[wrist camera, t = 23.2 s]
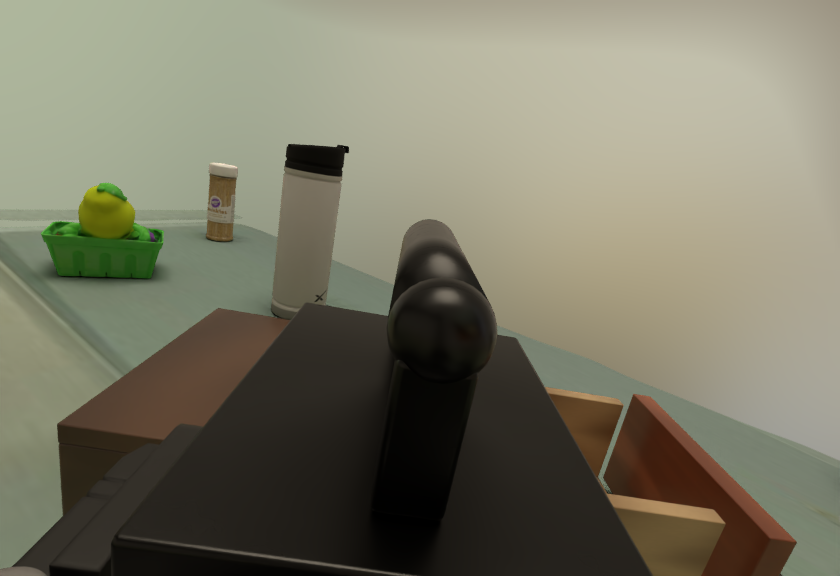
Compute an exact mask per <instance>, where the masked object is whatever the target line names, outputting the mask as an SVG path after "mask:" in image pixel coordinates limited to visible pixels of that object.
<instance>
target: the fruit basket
mask: <svg viewBox="0 0 840 576" xmlns="http://www.w3.org/2000/svg"><path fill="white" fill-rule="evenodd" d="M78 213H79V222H80V223H72V222H62V221H60V222H53V223H52V224H50V226H48V227H47V228H46V229H45V230H44V231H43V232H41V235H42V237H43V240H44V242H46V244H47V246H48V249H49V251H50V254H51V257H52V259H53V262H54V265H55V267H56V270H57V272H58V275H60V276H87V277H115V278H131V277H132V278H151V276H152V272H153V269H154V266H155V263H156V260H157V256H158V253H159V250H160V249H161V248H162V245H163V234H164V231H162V230H158V229H150V228H146V227H143V226H140V225H138V224H136V223H134V219H135V210H134V208H133V207H132V205H131V204H130V203H129V202H128V201H127V197H125V196H124V195H123V193H122V191H121V190H120V189H119V188H118V187H117V186H115V185H113V184H111V183H101V184H99V185H98V186H94V187H92V188H90V189H89V190H88V191H87V192H86V193H85V196H84V199H83V201H82V202H81V204H80V206H79V211H78Z"/></svg>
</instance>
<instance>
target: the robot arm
mask: <svg viewBox="0 0 840 576" xmlns="http://www.w3.org/2000/svg"><path fill="white" fill-rule="evenodd" d="M202 428H203V426H196V425H190V424H183V423H181V424H179V425H177V426H176V427H175V428H174V429H173V430H172V431H171V433H170V434H169V435H168V436H167V437H166V438H165V439H164V440H163V441H162V442H161V443H160V445H158V444H151V443H147V444H145V445H143V446H142V447H140V448H138V449H136V450H134V451H133V452H131V453H129V454H127V455H126V456H124V457H122V458H121V459H120V460H119V461H118V462H117V463H116V464H115V465H114V466H113V467H112V468H111V469H110V470H109V471H108V472H107V473H106V474H105V475H104V476H103V479H102V480H99V481H98V482H97V483H96V484H95V485H94V486H93V487H92V488H91V489H90V490H89V491H88V492H87V495H86V496H85V497H82V498H81V499H80V500H79V501H78V502H77V503H76V504H75V505H74V506H73V507H72V508H71V509H70V510H69V511H68V512H67V513H66V514H65V515H64V516H63V517H62V518H61V519H60V520H59V521H58V522H57V523H56V524H55V525H54V526H53V527H52V528H51V529H50V530H49V531H48V532H47V533H46V534H45V535H44V536H43V537H42V538H41V539H40V540H39V541H38V542H37V543H36V544H35V545H34V546H33V547H32V548H31V549H30V550H29V551H28V552H27V553H26V554H25V555H24V556H23V557H22V558H21V559H20V560H19V561H18V562H17V563H15V564H14V565H13V566H12V567H10V568H4V569H0V576H111V542H112V539H113V537H114V535H115V534H116V533H117V532H118V530H119V529H120V528H121V527H122V525H123V524H124V523H125V522H126V521H127V519H128V518H129V517H130V516H131V514H132V513H133V512H134V511H135V510H136V508H137V507H138V506H139V505H140V503H141V502H142V501H143V500H144V499H145V497H146V496H147V495H148V494H149V492H150V491H151V490H152V489H153V488H154V486H155V485H156V484H157V483H158V481H159V480H160V479H161V478H162V477H163V475H164V474H165V473H166V472H167V470H168V469H169V468H170V467H171V466H172V464H173V463H174V462H175V461H176V460H177V458H178V457H179V456H180V455H181V453H182V452H183V451H184V450H185V449H186V447H187V446H188V445H189V444H190V442H191V441H192V440H193V439H194V438H195V436H196V435H197V434H198V433H199V431H200V430H201V429H202Z"/></svg>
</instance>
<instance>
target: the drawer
mask: <svg viewBox="0 0 840 576" xmlns="http://www.w3.org/2000/svg"><path fill="white" fill-rule="evenodd" d="M545 389H546V390H547V392H548V394H549V396H550V397H551V399H552V401H553V402H554V404H555V406H556V408H557V409H558V411H559V413H560V415H561V416H562V418H563V420H564V422H565V423H566V425H567V427H568V429H569V430H570V432H571V434H572V436H573V437H574V439H575V441H576V442H577V444H578V446H579V448H580V449H581V451H582V453H583V455H584V456H585V458H586V460H587V462H588V463H589V465H590V467H591V469H592V470H593V472H594V474H595V476H596V477H597V479H598V481H599V482H600V480H599V478H598V475H599V473H600V470H601V467H602V464H603V461H604V459H605V456H606V453H607V450H608V448H609V445H610V442H611V439H612V436H613V434H614V431H615V428H616V425H617V422H618V420H619V417H620V414H621V411H622V408H623V404H622V403H621V402H620V401H619V399H615V398H609V397H603V396H597V395H591V394H585V393H579V392H573V391H567V390H560V389H554V388H548V387H545ZM603 478H604V480H605V482H606V483H607V485H608V487H609V488H610V490H611V492H612V493H613V494H607V492H606V490H605V489H604V487H603V485H602V484H601V482H600V484H601V486H602V488H603V489H604V491H605V493H606V495H607V496H608V498H609V500H610V502H611V503H612V505H613V507H614V509H615V510H616V512H617V514H618V516H619V517H620V519H621V521H622V522H623V524H624V526H625V528H626V529H627V531H628V533H629V535H630V536H631V538H632V540H633V542H634V543H635V545H636V547H637V549H638V550H639V552H640V554H641V556H642V557H643V559H644V561H645V562H646V564H647V566H648V568H649V569H650V571H651V573H652V575H653V576H782V575H781V574H780V573H781V571H782V569H783V567H784V565H785V564H786V562H787V560H788V558H789V556H790V554H791V553H792V551H793V549H794V547H795V545H796V543H797V542H796V541H795V540H794V539H793V538H792V537H791V536H790V535H789V534H788V533H787V532H786V531H785V530H784V529H783V528H782V527H781V526H780V525H779V524H778V523H777V522H776V521H775V520H774V519H773V518H772V517H771V516H770V515H769V514H768V513H767V512H766V511H765V510H764V509H763V508H762V507H761V506H760V505H759V504H758V503H757V502H756V501H755V500H754V499H753V498H752V497H751V496H750V495H749V494H748V493H747V492H746V491H745V490H744V489H743V488H742V487H741V486H740V485H739V484H738V483H737V482H736V481H735V480H734V479H733V478H732V477H731V476H730V475H729V474H728V473H727V472H726V471H725V470H724V469H723V468H722V467H721V466H720V465H719V464H718V463H717V462H716V461H715V460H714V459H713V458H712V457H711V456H710V455H709V454H708V453H707V452H705V451H704V450H703V449H702V448H701V447H700V446H699V445H698V444H697V443H696V442H695V441H694V440H693V439H692V438H691V437H690V436H689V435H688V434H687V433H686V432H685V431H684V430H683V429H682V428H681V427H680V426H679V425H678V424H677V423H676V422H675V421H674V420H673V419H672V418H671V417H670V416H669V415H668V414H667V413H666V412H665V411H664V410H663V409H662V408H661V407H660V406H659V405H658V404H657V403H656V402H655V401H654V400H653V399H652V398H651V397H649V396H643V395H637V394H633V397H632V399H631V402H630V405H629V408H628V410H627V413H626V416H625V419H624V422H623V424H622V427H621V430H620V433H619V435H618V438H617V441H616V444H615V446H614V449H613V452H612V455H611V457H610V460H609V463H608V466H607V468H606V471H605V474H604V477H603Z"/></svg>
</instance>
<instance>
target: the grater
mask: <svg viewBox="0 0 840 576" xmlns="http://www.w3.org/2000/svg"><path fill="white" fill-rule="evenodd" d="M111 576H653V575H652V573H651V571H650V569H649V568H648V566H647V564H646V562H645V561H644V559H643V557H642V556H641V554H640V552H639V550H638V549H637V547H636V545H635V543H634V542H633V540H632V538H631V536H630V535H629V533H628V531H627V529H626V528H625V526H624V524H623V522H622V521H621V519H620V517H619V516H618V514H617V512H616V510H615V509H614V507H613V505H612V503H611V502H610V500H609V498H608V496H607V495H606V493H605V491H604V489H603V488H602V486H601V484H600V482H599V481H598V479H597V477H596V476H595V474H594V472H593V470H592V469H591V467H590V465H589V463H588V462H587V460H586V458H585V456H584V455H583V453H582V451H581V449H580V448H579V446H578V444H577V442H576V441H575V439H574V437H573V436H572V434H571V432H570V430H569V429H568V427H567V425H566V423H565V422H564V420H563V418H562V416H561V415H560V413H559V411H558V409H557V408H556V406H555V404H554V402H553V401H552V399H551V397H550V396H549V394H548V392H547V390H546V389H545V387H544V385H543V383H542V382H541V380H540V378H539V376H538V375H537V373H536V371H535V369H534V368H533V366H532V364H531V362H530V361H529V359H528V357H527V356H526V354H525V352H524V350H523V349H522V347H521V345H520V343H519V342H518V340H517V339H516V338H514V337H508V336H502V335H497V323H496V319H495V315H494V312H493V309H492V307H491V305H490V303H489V301H488V299H487V297H486V295H485V294H484V292H483V290H482V288H481V286H480V284H479V282H478V280H477V278H476V276H475V274H474V273H473V271H472V269H471V267H470V265H469V263H468V261H467V259H466V257H465V255H464V253H463V252H462V250H461V248H460V246H459V244H458V242H457V240H456V238H455V236H454V234H453V233H452V231H451V230H450V229H449V228H448V227H447V226H446V225H445V224H443V223H442V222H439V221H437V220H431V219H427V220H422V221H419V222H417V223H415V224H414V225H412V226H411V227H410V228H409V229H408V231H407V232H406V234H405V236H404V238H403V243H402V248H401V253H400V258H399V264H398V269H397V274H396V279H395V284H394V289H393V295H392V300H391V305H390V310H389V315H388V316H384V315H378V314H372V313H367V312H361V311H355V310H349V309H343V308H337V307H331V306H325V305H319V304H314V303H308V302H307V303H304V304H303V306H302V307H301V308H300V309H299V311H298V312H297V313H296V314H295V315H294V317H293V318H292V319H291V320H290V322H289V323H288V324H287V325H286V326H285V328H284V329H283V330H282V331H281V333H280V334H279V335H278V336H277V337H276V339H275V340H274V341H273V342H272V344H271V345H270V346H269V347H268V348H267V350H266V351H265V352H264V353H263V355H262V356H261V357H260V358H259V359H258V361H257V362H256V363H255V364H254V366H253V367H252V368H251V369H250V370H249V372H248V373H247V374H246V375H245V376H244V378H243V379H242V380H241V381H240V383H239V384H238V385H237V386H236V387H235V389H234V390H233V391H232V392H231V394H230V395H229V396H228V397H227V398H226V400H225V401H224V402H223V403H222V405H221V406H220V407H219V408H218V409H217V411H216V412H215V413H214V414H213V416H212V417H211V418H210V419H209V420H208V422H207V423H206V424H205V425H204V427H203V428H202V429H201V430H200V431H199V433H198V434H197V435H196V436H195V438H194V439H193V440H192V441H191V442H190V444H189V445H188V446H187V447H186V449H185V450H184V451H183V452H182V453H181V455H180V456H179V457H178V458H177V460H176V461H175V462H174V463H173V464H172V466H171V467H170V468H169V469H168V470H167V472H166V473H165V474H164V475H163V477H162V478H161V479H160V480H159V481H158V483H157V484H156V485H155V486H154V488H153V489H152V490H151V491H150V492H149V494H148V495H147V496H146V497H145V499H144V500H143V501H142V502H141V503H140V505H139V506H138V507H137V508H136V510H135V511H134V512H133V513H132V514H131V516H130V517H129V518H128V519H127V521H126V522H125V523H124V524H123V525H122V527H121V528H120V529H119V530H118V532H117V533H116V534H115V535H114V537H113V539H112V542H111Z"/></svg>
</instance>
